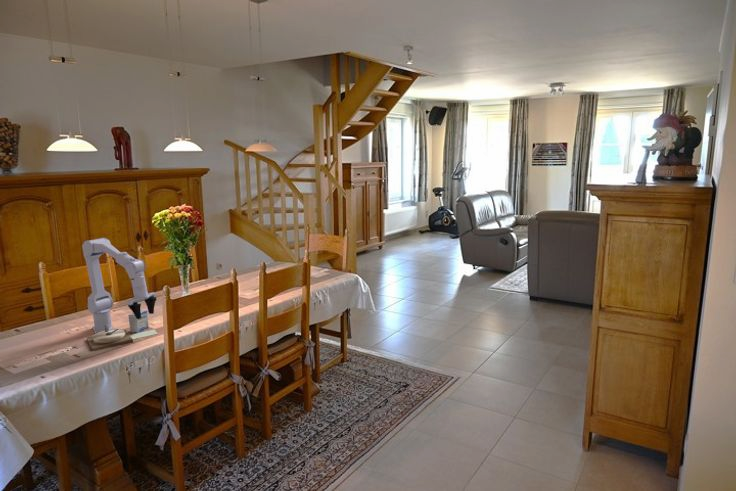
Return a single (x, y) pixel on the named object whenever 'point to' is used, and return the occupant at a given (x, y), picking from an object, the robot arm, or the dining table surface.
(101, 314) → the robot arm
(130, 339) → the base board
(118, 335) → the index wheel
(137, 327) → the medicine box
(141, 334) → the mat
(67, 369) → the dining table surface
